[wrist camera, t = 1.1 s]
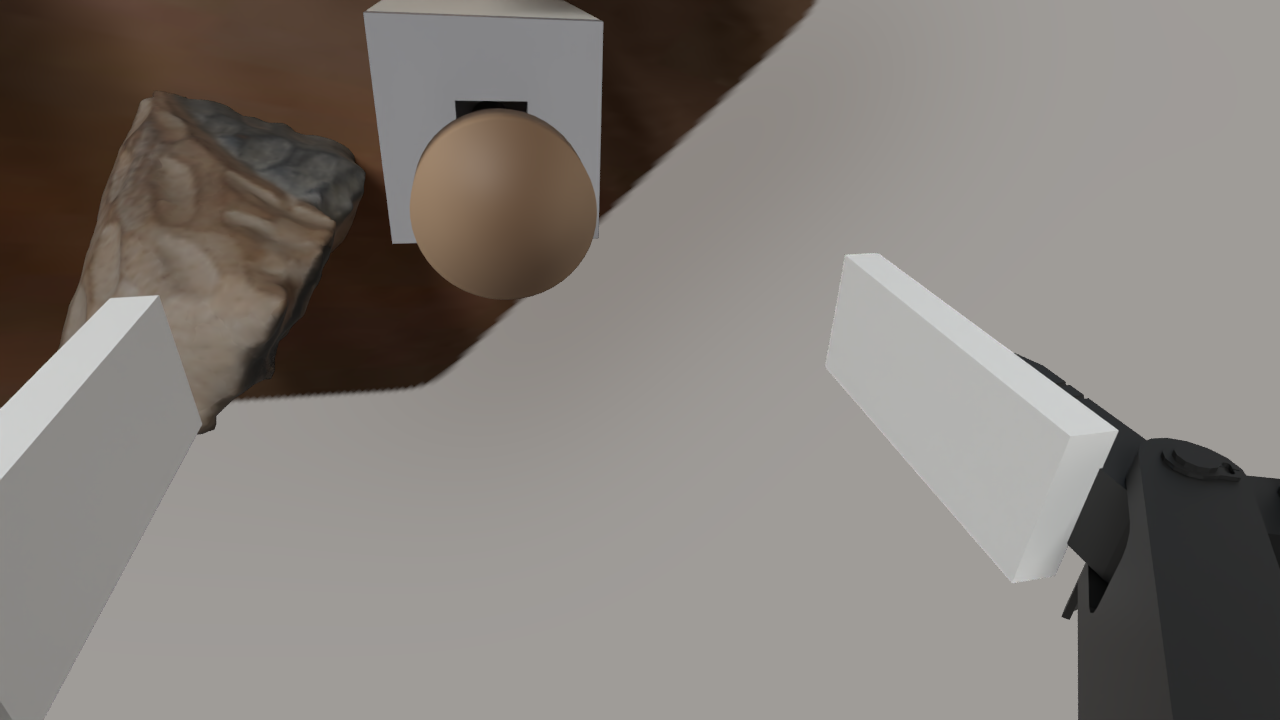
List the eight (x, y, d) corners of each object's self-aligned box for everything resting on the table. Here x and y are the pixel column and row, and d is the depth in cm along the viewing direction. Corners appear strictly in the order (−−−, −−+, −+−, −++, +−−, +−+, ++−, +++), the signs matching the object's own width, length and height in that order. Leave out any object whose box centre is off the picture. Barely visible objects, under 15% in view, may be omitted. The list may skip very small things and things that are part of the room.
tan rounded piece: (424, 187, 38) (403, 320, 24) (409, 38, 34) (375, 98, 21) (560, 186, 39) (611, 310, 26) (559, 43, 36) (618, 102, 22)
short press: (411, 163, 47) (392, 243, 34) (393, -8, 42) (363, 12, 29) (563, 162, 49) (598, 238, 36) (562, -1, 44) (603, 21, 32)
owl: (378, 144, 46) (329, 259, 29) (345, 316, 51) (288, 498, 34) (152, 79, 42) (-59, 170, 25) (141, 274, 47) (-40, 459, 30)
